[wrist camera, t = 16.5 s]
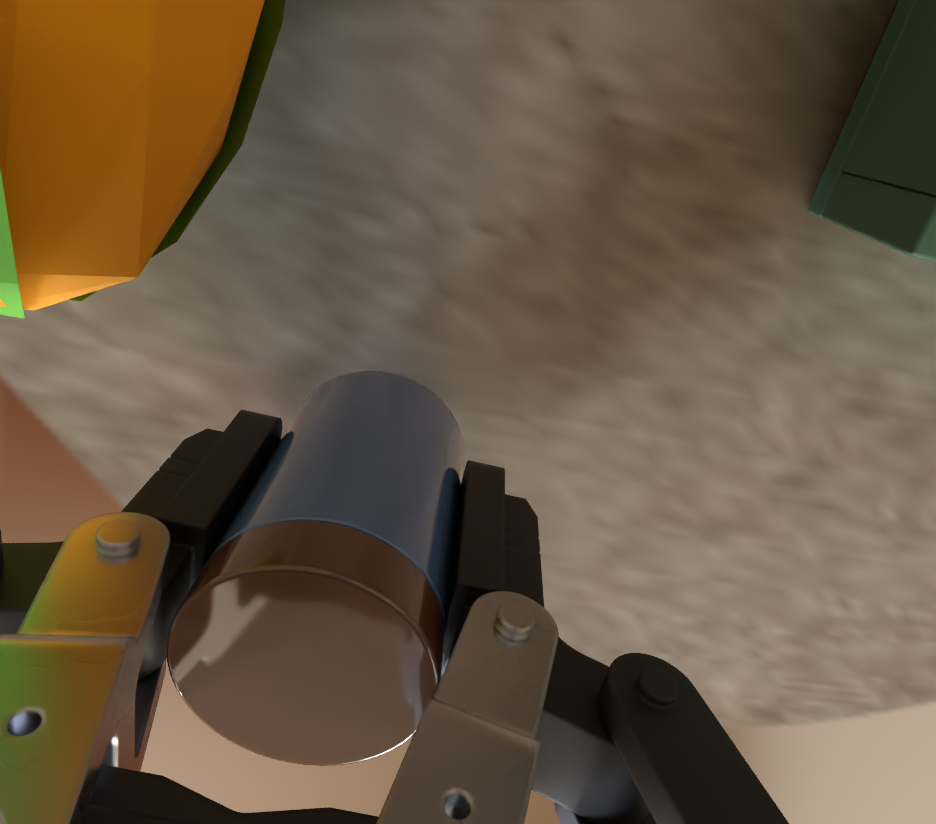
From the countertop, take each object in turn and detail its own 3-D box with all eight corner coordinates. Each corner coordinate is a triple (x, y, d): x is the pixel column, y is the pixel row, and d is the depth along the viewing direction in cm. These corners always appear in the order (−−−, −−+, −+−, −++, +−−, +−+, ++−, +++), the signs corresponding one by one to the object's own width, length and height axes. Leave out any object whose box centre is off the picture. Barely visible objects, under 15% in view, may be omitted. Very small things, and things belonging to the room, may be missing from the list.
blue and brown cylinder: (303, 352, 13) (167, 540, 8) (481, 392, 14) (467, 601, 8) (284, 500, 15) (160, 740, 10) (444, 534, 15) (412, 788, 10)
